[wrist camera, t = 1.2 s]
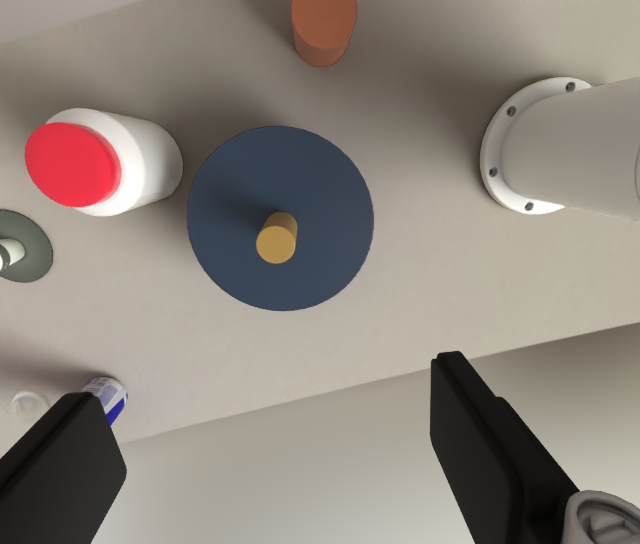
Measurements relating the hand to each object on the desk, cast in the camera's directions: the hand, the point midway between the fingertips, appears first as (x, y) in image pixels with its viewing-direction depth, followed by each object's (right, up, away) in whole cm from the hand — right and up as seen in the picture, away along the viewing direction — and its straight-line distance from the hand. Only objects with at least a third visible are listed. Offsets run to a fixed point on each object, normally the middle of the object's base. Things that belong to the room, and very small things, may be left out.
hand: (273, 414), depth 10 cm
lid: (-2, +8, +18) cm, 20 cm away
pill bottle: (-16, +15, +24) cm, 32 cm away
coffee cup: (-31, +6, +26) cm, 41 cm away
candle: (+1, +25, +21) cm, 32 cm away
